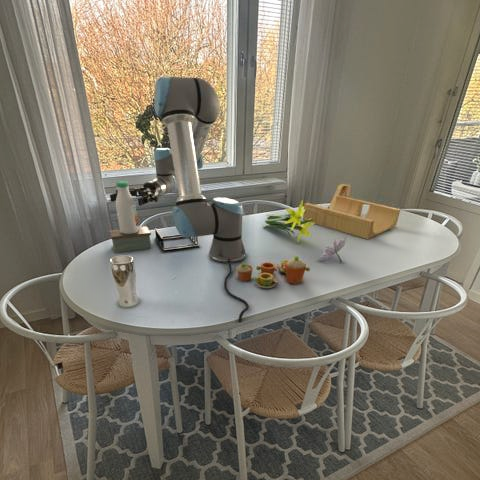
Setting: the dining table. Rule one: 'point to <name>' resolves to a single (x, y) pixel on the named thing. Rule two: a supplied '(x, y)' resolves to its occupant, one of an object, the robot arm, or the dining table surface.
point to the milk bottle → (126, 209)
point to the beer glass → (125, 279)
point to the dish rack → (170, 237)
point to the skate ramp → (352, 215)
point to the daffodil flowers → (290, 221)
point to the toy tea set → (289, 267)
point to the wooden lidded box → (131, 240)
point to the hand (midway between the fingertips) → (124, 200)
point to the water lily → (337, 247)
